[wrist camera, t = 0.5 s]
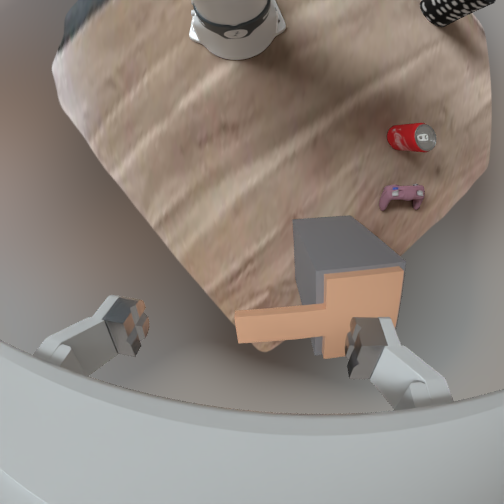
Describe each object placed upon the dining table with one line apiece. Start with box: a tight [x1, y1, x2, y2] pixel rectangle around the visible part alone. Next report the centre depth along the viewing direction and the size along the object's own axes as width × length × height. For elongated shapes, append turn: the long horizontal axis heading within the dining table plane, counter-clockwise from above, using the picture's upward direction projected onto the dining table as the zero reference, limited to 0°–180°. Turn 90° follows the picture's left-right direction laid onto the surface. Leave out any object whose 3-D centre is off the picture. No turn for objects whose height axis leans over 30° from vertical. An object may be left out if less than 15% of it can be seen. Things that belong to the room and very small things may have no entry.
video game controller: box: [379, 184, 425, 211], centre depth 52 cm, size 10×5×7 cm, turn 95°
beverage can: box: [387, 123, 436, 152], centre depth 45 cm, size 5×5×12 cm
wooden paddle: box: [234, 266, 404, 359], centre depth 35 cm, size 12×21×2 cm, turn 96°
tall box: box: [293, 216, 406, 355], centre depth 47 cm, size 13×12×25 cm
